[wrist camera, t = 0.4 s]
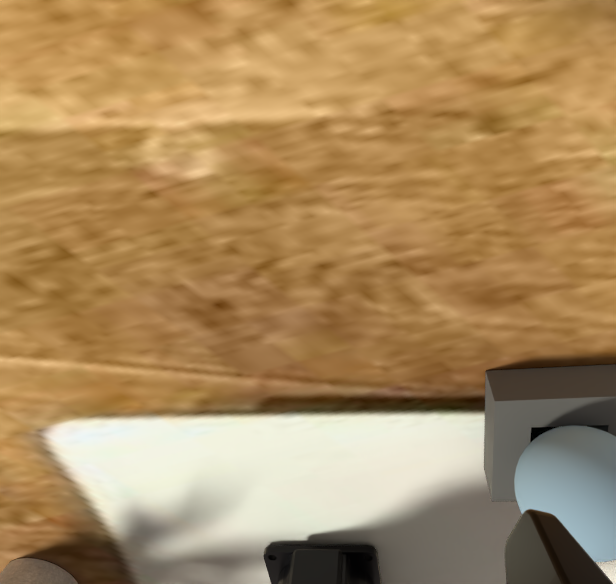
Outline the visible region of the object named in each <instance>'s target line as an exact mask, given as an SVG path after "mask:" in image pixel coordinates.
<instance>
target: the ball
mask: <svg viewBox="0 0 616 584" xmlns="http://www.w3.org/2000/svg"><path fill="white" fill-rule="evenodd" d="M514 484H515V495H516V499H517V503H518V506H519V509H520V511H521V513H522V514H523V513H524V511H526V510H528V509H533V510H538V511H542V512H547V513H551V514H553V515H554V516H556V517H557V518H558V519H559V520H560V522H561V523H562V524H563V525H564V526H565V528H566V529H567V530H568V531H569V532H570V533H571V535H572V536H573V537H574V538H575V539H576V540H577V542H578V543H579V544H580V545H581V546H582V548H583V549H584V550H585V551H586V552H587V553H588V555H589V556H590V557H591V558H592V559H593V561H594V562H606V561H612V560H616V437H615V436H614V435H612V434H610V433H608V432H605V431H602V430H599V429H596V428H593V427H588V426H579V425H570V426H562V427H558V428H554V429H551V430H549V431H546V432H544V433H543V434H541V435H539V436H538V437H537V438H535V439H534V440H533V441H532V442H531V443H530V444H529V445H528V446H527V447H526V448H525V450H524V451H523V453H522V455H521V456H520V458H519V461H518V464H517V467H516V472H515V478H514Z"/></svg>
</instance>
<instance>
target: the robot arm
mask: <svg viewBox="0 0 616 584" xmlns="http://www.w3.org/2000/svg"><path fill="white" fill-rule="evenodd" d="M264 560H265V563H266V567H267V570H268V574H269V577H270V580H271V584H381V576H380V569H379V561H378V553H377V550H376V549H375V548H374V547H372V546H268V547H266V548H265V552H264ZM505 567H506V580H507V584H613V583H612V582H611V581H610V579H609V578H608V577H607V576H606V575H605V573H604V572H603V571H602V570H601V569H600V568H599V566H598V565H597V564H596V563H595V562H594V561H593V559H592V558H591V557H590V556H589V555H588V553H587V552H586V551H585V550H584V549H583V548H582V546H581V545H580V544H579V543H578V542H577V540H576V539H575V538H574V537H573V536H572V535H571V533H570V532H569V531H568V530H567V529H566V528H565V526H564V525H563V524H562V523H561V522H560V520H559V519H558V518H557V517H556V516H554V515H553V514H551V513H547V512H542V511H538V510H533V509H528V510H526V511H524V513H523V514H522V516H521V517H520V519H519V521H518V522H517V524H516V526H515V527H514V529H513V531H512V532H511V534H510V536H509V537H508V539H507V542H506V546H505Z"/></svg>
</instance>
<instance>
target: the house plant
mask: <svg viewBox="0 0 616 584" xmlns="http://www.w3.org/2000/svg"><path fill="white" fill-rule="evenodd" d="M0 584H78V583H77V581H76V580H75V579H74V578H73V576H72V575H70V574H69V573H68V572H67V571H66V570H64V569H62V568H60V567H59V566H57V565H55V564H52V563H50V562H47V561H44V560H39V559H33V558H21V559H16V560H13V561H10V563H9V564H8V565H7V566H6V567H5V568H4V570H3V571H2V572H1V573H0Z"/></svg>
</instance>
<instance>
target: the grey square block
mask: <svg viewBox="0 0 616 584" xmlns="http://www.w3.org/2000/svg"><path fill="white" fill-rule="evenodd" d="M570 425H579V426H588V427H593V428H596V429H599V430H602V431H605V432H608V433H610V434H612V435H614V436H615V437H616V364H612V365H592V366H572V367H552V368H532V369H512V370H492V371H486V382H485V438H484V470H485V474H486V479H487V483H488V487H489V491H490V496H491V500H492V501H517V499H516V495H515V484H514V478H515V472H516V467H517V464H518V461H519V458H520V456H521V455H522V453H523V451H524V450H525V448H526V447H527V446H528V445H529V444H530V439H531V427H562V426H570Z"/></svg>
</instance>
